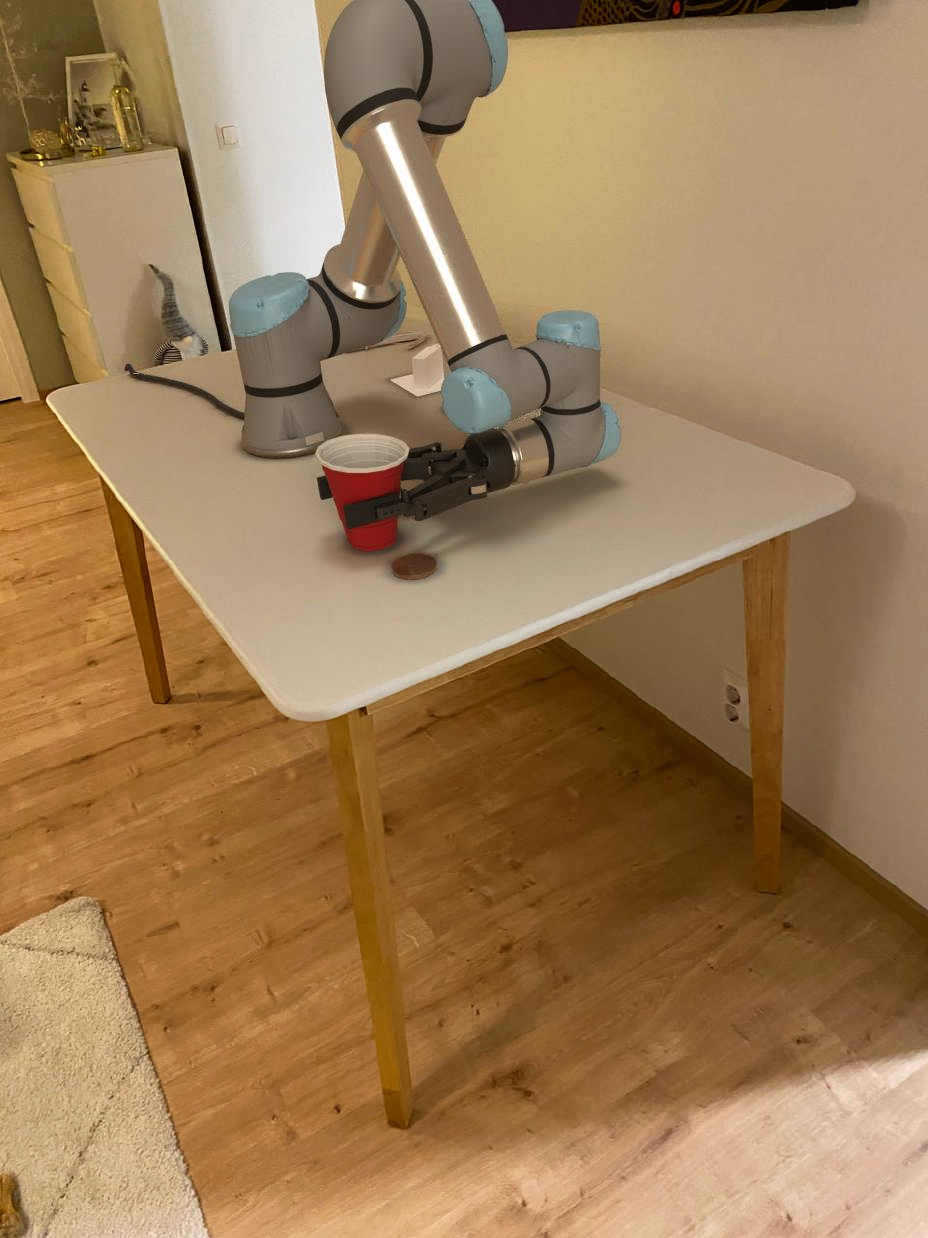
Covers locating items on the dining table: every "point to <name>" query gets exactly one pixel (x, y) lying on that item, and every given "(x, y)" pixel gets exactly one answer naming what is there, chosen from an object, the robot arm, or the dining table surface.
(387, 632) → the dining table surface
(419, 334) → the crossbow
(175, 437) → the dining table surface
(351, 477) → the plastic cup
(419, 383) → the napkin holder
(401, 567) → the brown round coaster
